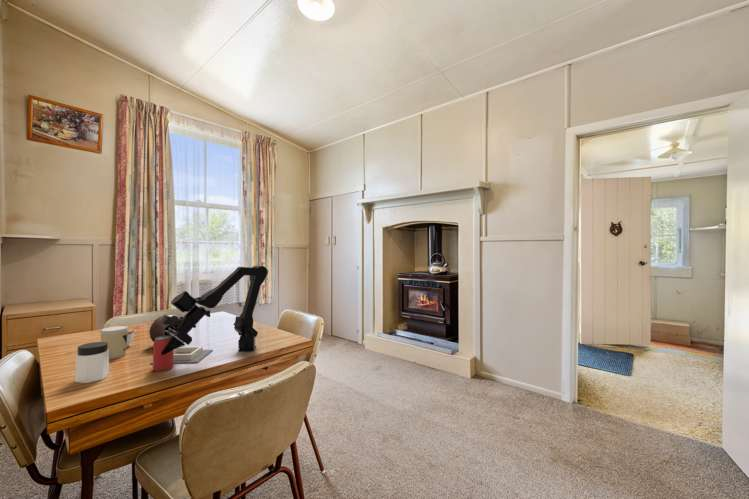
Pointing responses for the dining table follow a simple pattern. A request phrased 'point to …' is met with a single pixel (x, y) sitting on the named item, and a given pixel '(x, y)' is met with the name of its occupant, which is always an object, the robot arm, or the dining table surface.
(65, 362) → the dining table surface
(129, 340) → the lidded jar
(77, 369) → the jar
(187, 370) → the dining table surface
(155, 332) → the brown ball
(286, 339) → the dining table surface
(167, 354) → the beer can
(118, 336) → the coffee cup
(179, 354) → the holder plate
